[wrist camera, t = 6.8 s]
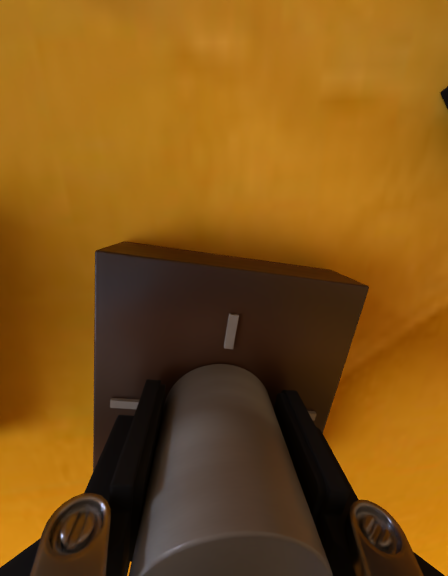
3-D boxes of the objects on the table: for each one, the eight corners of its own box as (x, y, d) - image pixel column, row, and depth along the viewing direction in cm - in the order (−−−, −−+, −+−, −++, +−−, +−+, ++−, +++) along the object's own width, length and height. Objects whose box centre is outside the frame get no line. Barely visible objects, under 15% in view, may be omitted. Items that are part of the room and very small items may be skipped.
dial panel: (122, 241, 11) (92, 250, 8) (331, 269, 12) (373, 287, 9) (114, 449, 14) (90, 512, 11) (280, 456, 15) (299, 515, 12)
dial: (161, 448, 11) (115, 696, 5) (168, 358, 10) (118, 559, 4) (259, 451, 11) (314, 682, 6) (278, 367, 10) (370, 553, 4)
